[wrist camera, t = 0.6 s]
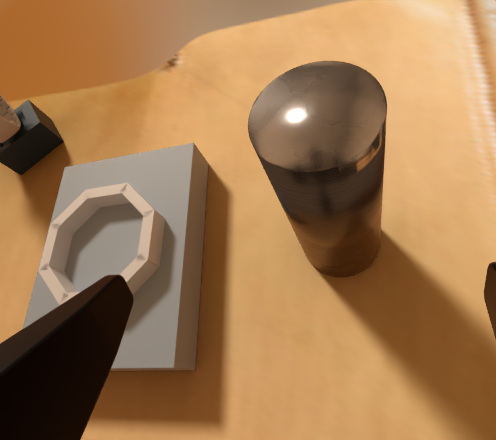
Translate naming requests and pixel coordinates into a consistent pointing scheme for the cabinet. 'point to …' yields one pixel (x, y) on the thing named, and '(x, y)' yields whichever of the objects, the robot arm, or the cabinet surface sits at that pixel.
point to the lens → (326, 159)
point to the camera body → (133, 249)
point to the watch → (25, 136)
